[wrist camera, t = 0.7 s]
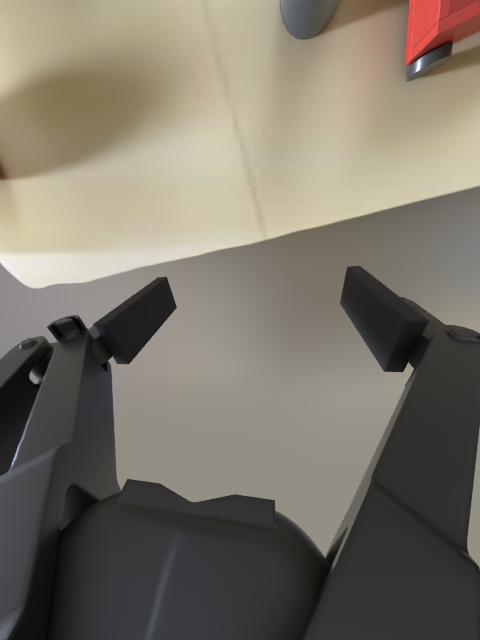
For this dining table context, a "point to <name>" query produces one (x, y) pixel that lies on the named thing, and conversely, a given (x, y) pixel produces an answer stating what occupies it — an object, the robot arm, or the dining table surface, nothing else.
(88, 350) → the robot arm
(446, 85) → the dining table surface
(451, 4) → the cart
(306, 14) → the tin
